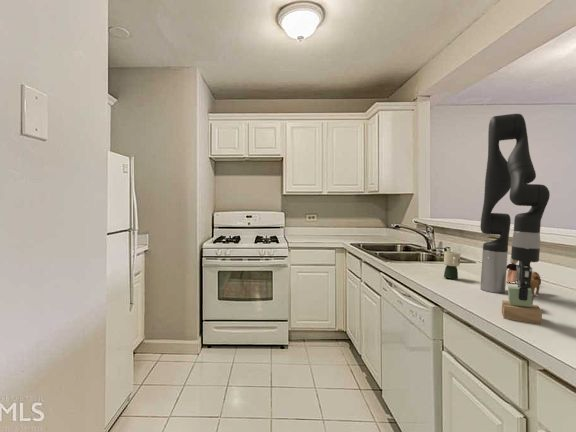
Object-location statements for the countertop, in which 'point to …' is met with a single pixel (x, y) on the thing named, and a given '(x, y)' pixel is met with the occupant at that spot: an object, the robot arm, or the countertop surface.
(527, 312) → the oak block
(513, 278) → the grandmother figurine
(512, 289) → the sage brick
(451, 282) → the countertop surface
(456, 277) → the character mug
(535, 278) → the lion figurine
